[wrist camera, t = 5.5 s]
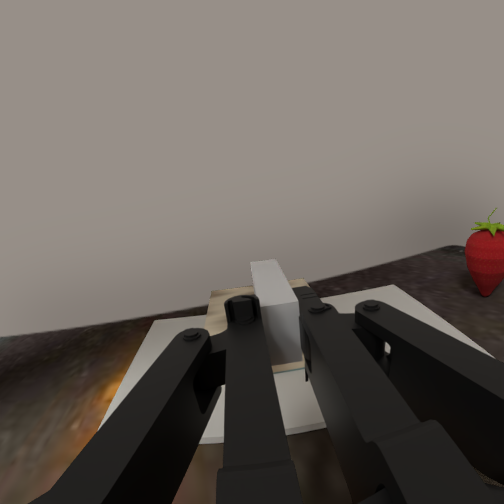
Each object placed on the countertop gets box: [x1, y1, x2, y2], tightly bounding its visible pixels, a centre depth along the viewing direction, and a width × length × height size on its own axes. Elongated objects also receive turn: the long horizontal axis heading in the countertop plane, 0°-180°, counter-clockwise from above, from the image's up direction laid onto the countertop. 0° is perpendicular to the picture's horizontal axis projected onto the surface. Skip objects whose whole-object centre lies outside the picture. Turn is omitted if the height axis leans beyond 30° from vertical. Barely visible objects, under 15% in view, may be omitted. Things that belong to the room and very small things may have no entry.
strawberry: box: [465, 209, 504, 297], centre depth 24 cm, size 6×8×10 cm
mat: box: [98, 285, 494, 444], centre depth 23 cm, size 28×18×1 cm, turn 93°
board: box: [204, 278, 309, 374], centre depth 26 cm, size 10×2×13 cm
